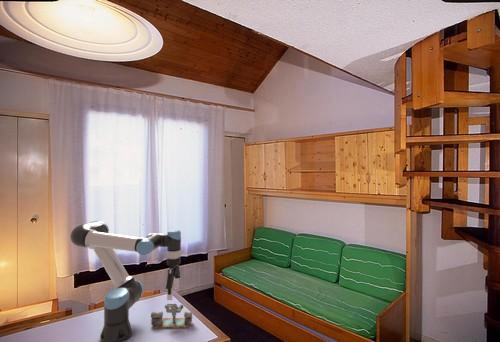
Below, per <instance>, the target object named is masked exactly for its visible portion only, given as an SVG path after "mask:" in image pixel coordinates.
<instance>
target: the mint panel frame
mask: <svg viewBox="0 0 500 342" xmlns="http://www.w3.org/2000/svg"><path fill="white" fill-rule="evenodd" d="M183 314H184V315H183V317H176V322H175V323H173V317H169V318H168V317H163V316H164V312H163V311H151V314H150V318H151V319H150V321H151V323H150V324H151V325H155V326H154V327H155V329H189V326H190V325H191V324H192V322H193V311H184V313H183Z"/></svg>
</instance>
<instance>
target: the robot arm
mask: <svg viewBox="0 0 500 342" xmlns="http://www.w3.org/2000/svg"><path fill="white" fill-rule="evenodd" d="M109 231H110V229H109V226H108V225H107V224H106V222H104V221H101V220H95V221H91V222H90V221H89V222H87V223H84V224H79V225H77V226H75V227H74V228H73V229H72V230H71V232H70V236H69V237H70V241H71V243H72V244H73V245H75V246H76V247H81V248H88V249H89V250H93V251H94V253H95V254H96V256H97V258H98V260H99V261H100V263H101V265H102V266H103V268H104V269H105V272H106V273H107V275H108V276H109V277H108V278H110V280H111V281H112V283H113V285H114V286H113V289H112V290H110V291H109V292H106V294H105V297H104V301H103V306H104V307H103V308H104V309H103V315H104V316H103V320H104V321H103V327H102V330H101V333H100V336H99V342H126V341H128V340H129V339H130V338H131V337H132V335H133V326H132V324H131V322H130V318H129V315H130V314H129V313H130V311H129V310H130V308H132V307H133V306H134V305H135V303H137V302H138V301H139V300H140V299H141V298H142V295H143V294H144V285H143V283H142V282H141V281H140V280H137V279H135V278H134V276H132V275H129V273H128V271H127V270H126V268H125V267H124V265H123V264H122V262H121V260H120V258H119V257H118V255H117V253H116V251H115V250H121V251H128V252H136V253H138V254H139V255H140V256H146V255H149V254H151V253H152V252H153V251H154V250H157V248H166V257H167V258H166V265H167V266H169V268H168V270H167V278H166V284H165V285H166V287H165V289H166V290H167V291H166V296H167V297H166V300H167V301H173V295H174V294H173V293H174V292H173V290H179V289H180V281H179V280H180V278H181V271H180V266H179V265H180V264H181V261H182V260H181V254H182V248H181V245H182V244H181V243H182V233H181V230H179V229H169V230H168V231H167V233H156V232H152V233H151V232H150V233H148V234H147V235H146V237H140V236H130V235H124V234H116V233H109Z"/></svg>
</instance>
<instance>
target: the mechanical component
mask: <svg viewBox="0 0 500 342" xmlns="http://www.w3.org/2000/svg"><path fill="white" fill-rule="evenodd" d="M164 309H165V312H166V313H169V314H171V316H172V318H173V323H175V322H176V318H177V317H176V316H177V314H178V313H181V312H182V310H183V309H184V305H183V304H180V306H178V305H177V303H167V304H166V305H164Z"/></svg>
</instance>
